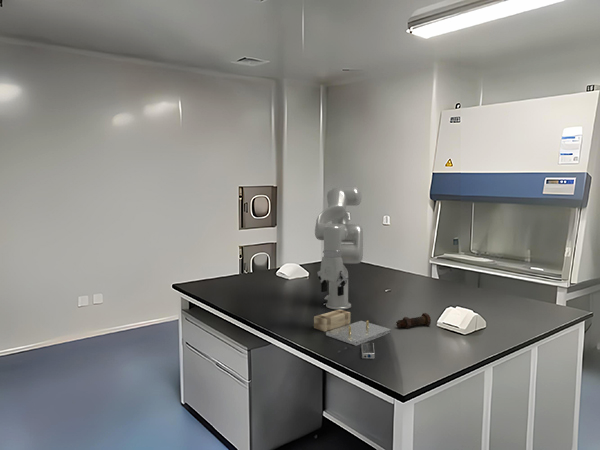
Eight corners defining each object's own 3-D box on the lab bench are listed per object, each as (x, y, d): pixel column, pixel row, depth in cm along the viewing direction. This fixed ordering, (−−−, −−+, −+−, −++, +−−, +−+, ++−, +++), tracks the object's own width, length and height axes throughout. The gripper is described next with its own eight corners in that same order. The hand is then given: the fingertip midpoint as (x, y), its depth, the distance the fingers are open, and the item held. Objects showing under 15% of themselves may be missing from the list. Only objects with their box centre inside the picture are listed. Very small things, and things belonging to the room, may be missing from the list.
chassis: (326, 335, 187) (326, 324, 186) (361, 323, 201) (361, 313, 201) (355, 345, 175) (355, 334, 174) (390, 332, 190) (391, 322, 189)
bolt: (396, 332, 196) (426, 327, 201) (402, 329, 192) (432, 324, 197) (393, 318, 198) (422, 314, 203) (398, 316, 194) (428, 311, 199)
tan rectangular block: (314, 327, 196) (313, 316, 196) (339, 320, 207) (339, 309, 206) (324, 331, 192) (324, 319, 191) (350, 323, 202) (350, 312, 202)
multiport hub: (373, 348, 173) (373, 342, 173) (374, 359, 162) (374, 353, 162) (361, 348, 174) (361, 342, 173) (361, 359, 163) (362, 353, 163)
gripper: (312, 252, 200) (312, 291, 201) (341, 257, 187) (341, 298, 188) (324, 251, 205) (324, 289, 206) (353, 255, 192) (353, 295, 193)
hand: (332, 293), depth 197 cm, fingers open, 9 cm apart
